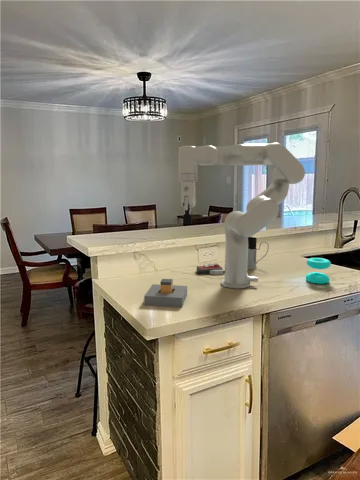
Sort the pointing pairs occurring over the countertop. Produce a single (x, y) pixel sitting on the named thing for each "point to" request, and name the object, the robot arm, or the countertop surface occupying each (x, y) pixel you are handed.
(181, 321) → the countertop surface
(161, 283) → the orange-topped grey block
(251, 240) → the grey and black mug
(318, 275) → the donuts
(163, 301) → the socket plate
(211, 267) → the walkie-talkie
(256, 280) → the robot arm
